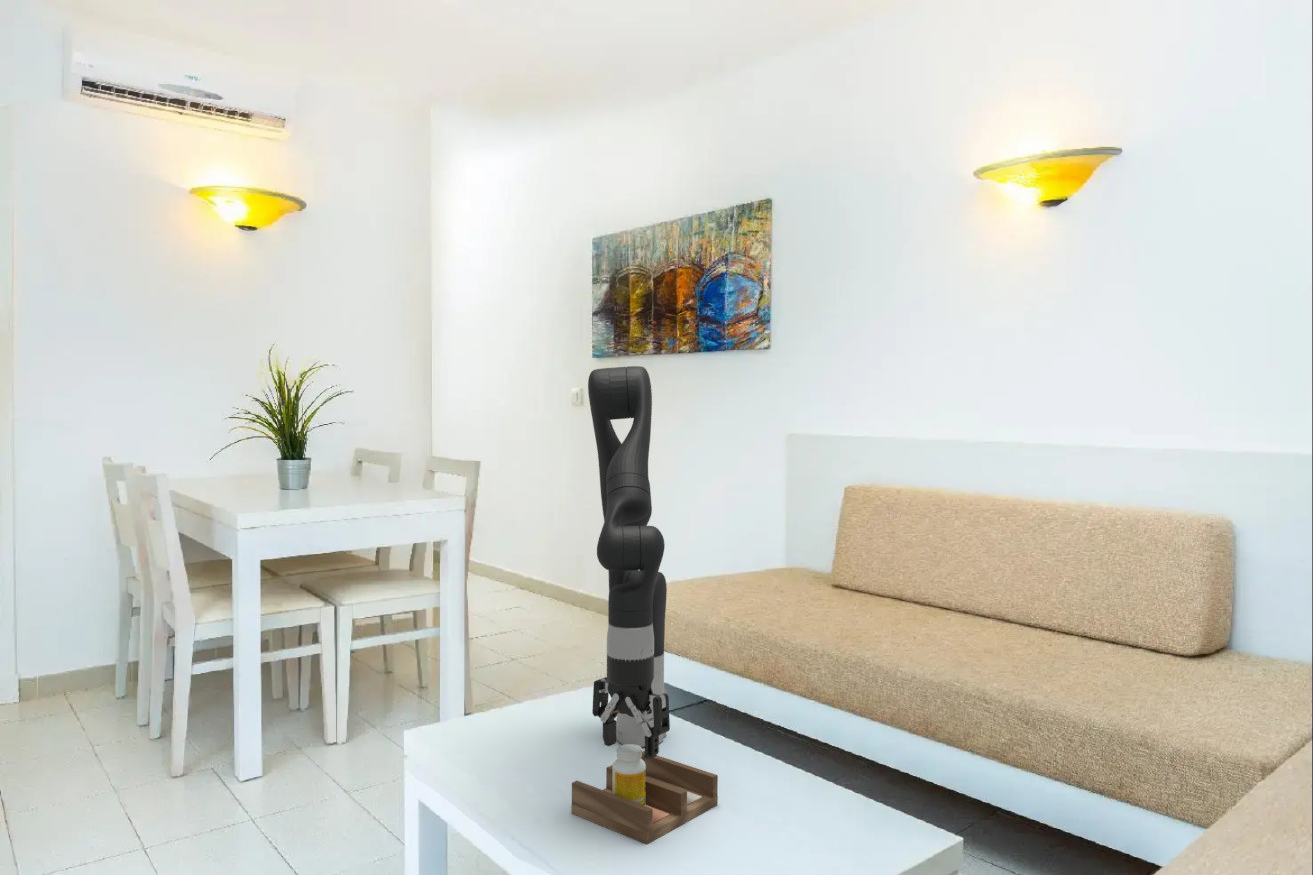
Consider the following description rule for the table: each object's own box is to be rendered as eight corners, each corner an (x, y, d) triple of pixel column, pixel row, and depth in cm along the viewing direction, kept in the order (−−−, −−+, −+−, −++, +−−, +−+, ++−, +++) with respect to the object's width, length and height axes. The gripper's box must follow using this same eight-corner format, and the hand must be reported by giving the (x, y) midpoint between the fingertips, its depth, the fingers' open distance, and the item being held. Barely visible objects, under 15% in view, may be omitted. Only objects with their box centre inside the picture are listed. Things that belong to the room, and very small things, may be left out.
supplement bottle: (607, 803, 152) (607, 745, 151) (637, 798, 154) (637, 740, 154) (620, 817, 147) (620, 756, 146) (651, 811, 149) (651, 751, 149)
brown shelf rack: (643, 778, 166) (644, 751, 166) (717, 804, 156) (717, 775, 155) (571, 813, 152) (571, 782, 152) (646, 844, 142) (647, 811, 142)
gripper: (680, 654, 148) (679, 755, 149) (612, 638, 157) (612, 733, 158) (649, 665, 142) (649, 770, 143) (581, 647, 151) (581, 746, 152)
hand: (630, 751), depth 150 cm, fingers open, 8 cm apart
